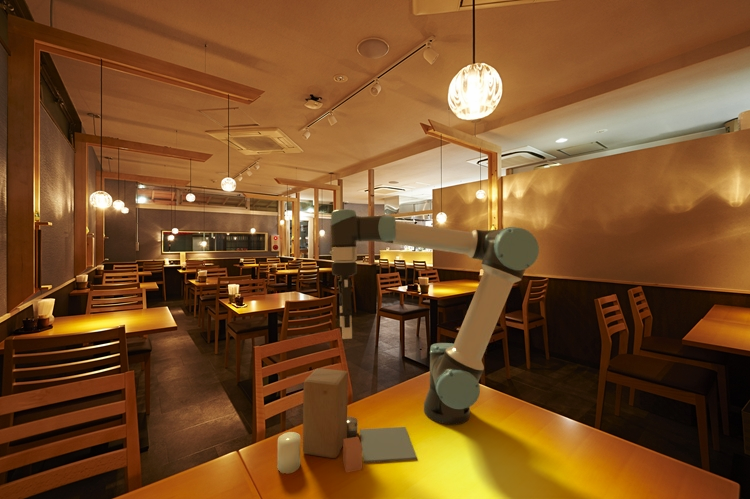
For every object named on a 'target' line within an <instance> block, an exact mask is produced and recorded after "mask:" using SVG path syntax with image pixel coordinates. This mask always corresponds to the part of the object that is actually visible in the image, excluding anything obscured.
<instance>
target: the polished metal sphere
mask: <svg viewBox="0 0 750 499" xmlns="http://www.w3.org/2000/svg"><path fill="white" fill-rule="evenodd" d="M352 437H358V418H356V417H355V416H347V438H352Z"/></svg>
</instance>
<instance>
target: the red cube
mask: <svg viewBox="0 0 750 499" xmlns="http://www.w3.org/2000/svg"><path fill="white" fill-rule="evenodd" d="M342 447H343V448H342V463H343V466H344V470H345V473H349V472H355V471H360V470H363V453H362V444H361V438H360V437H359V436H356V437H352V438H346V439H343V446H342Z"/></svg>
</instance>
